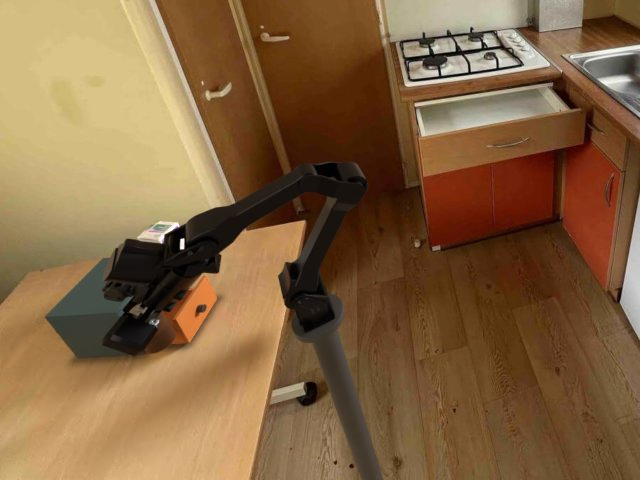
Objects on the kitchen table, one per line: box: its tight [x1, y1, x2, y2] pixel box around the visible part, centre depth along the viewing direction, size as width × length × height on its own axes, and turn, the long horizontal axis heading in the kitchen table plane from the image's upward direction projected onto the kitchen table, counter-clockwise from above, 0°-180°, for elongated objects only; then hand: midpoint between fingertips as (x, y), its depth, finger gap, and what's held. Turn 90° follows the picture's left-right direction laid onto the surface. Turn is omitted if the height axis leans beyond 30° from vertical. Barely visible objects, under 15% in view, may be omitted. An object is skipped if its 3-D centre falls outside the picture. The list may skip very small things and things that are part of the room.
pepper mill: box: [128, 303, 176, 355], centre depth 80 cm, size 5×5×10 cm
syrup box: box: [136, 220, 184, 249], centre depth 101 cm, size 6×6×14 cm
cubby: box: [44, 257, 147, 360], centre depth 89 cm, size 13×14×13 cm
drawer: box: [162, 275, 218, 345], centre depth 91 cm, size 13×11×8 cm
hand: (139, 320), depth 79 cm, fingers closed on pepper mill, 5 cm apart
